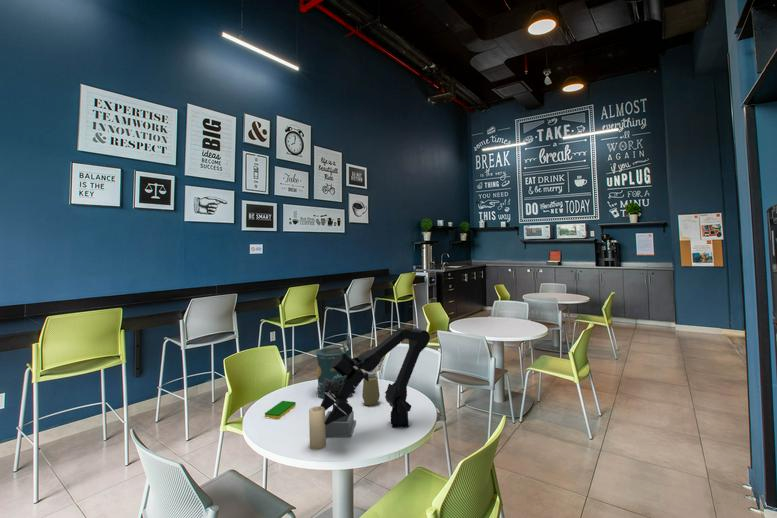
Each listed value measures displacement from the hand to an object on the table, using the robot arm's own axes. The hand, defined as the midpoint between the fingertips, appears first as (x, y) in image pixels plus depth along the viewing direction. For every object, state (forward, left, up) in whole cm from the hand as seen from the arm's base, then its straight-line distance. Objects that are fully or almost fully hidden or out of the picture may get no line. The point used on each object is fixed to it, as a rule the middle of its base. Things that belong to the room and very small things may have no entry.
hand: (321, 418), depth 129 cm
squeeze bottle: (-14, -36, -9) cm, 40 cm away
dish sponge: (+25, -27, -10) cm, 38 cm away
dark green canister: (+6, -49, -9) cm, 50 cm away
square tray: (-4, -11, -9) cm, 15 cm away
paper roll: (+1, +1, -9) cm, 9 cm away
